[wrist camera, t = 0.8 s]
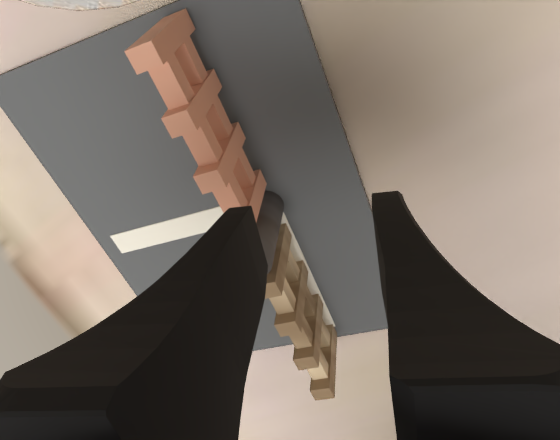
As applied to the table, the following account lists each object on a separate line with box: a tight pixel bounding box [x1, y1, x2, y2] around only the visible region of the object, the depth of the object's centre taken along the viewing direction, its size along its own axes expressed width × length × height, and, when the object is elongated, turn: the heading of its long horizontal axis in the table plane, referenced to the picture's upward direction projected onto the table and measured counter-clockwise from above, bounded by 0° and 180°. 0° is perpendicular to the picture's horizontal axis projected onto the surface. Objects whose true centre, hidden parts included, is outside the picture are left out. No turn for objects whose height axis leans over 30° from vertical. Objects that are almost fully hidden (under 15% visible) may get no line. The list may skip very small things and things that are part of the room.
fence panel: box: [124, 8, 267, 222], centre depth 19 cm, size 8×1×4 cm, turn 21°
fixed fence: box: [256, 191, 337, 400], centre depth 24 cm, size 10×2×4 cm, turn 21°
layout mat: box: [0, 0, 388, 351], centre depth 25 cm, size 19×14×1 cm
